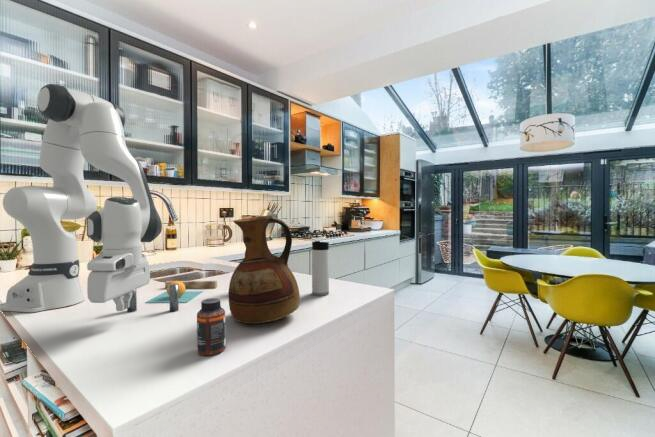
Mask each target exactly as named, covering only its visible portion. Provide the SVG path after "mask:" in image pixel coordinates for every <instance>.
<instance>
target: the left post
mask: <svg viewBox="0 0 655 437" xmlns="http://www.w3.org/2000/svg"><path fill="white" fill-rule="evenodd" d="M137 299H138V298H137V289H135V290H133V295H132V297H131V300H130V307H129V308H127V309H126V312H127V313H133V312H136V311H137V310H138V309H137V308H138V306H137Z"/></svg>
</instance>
